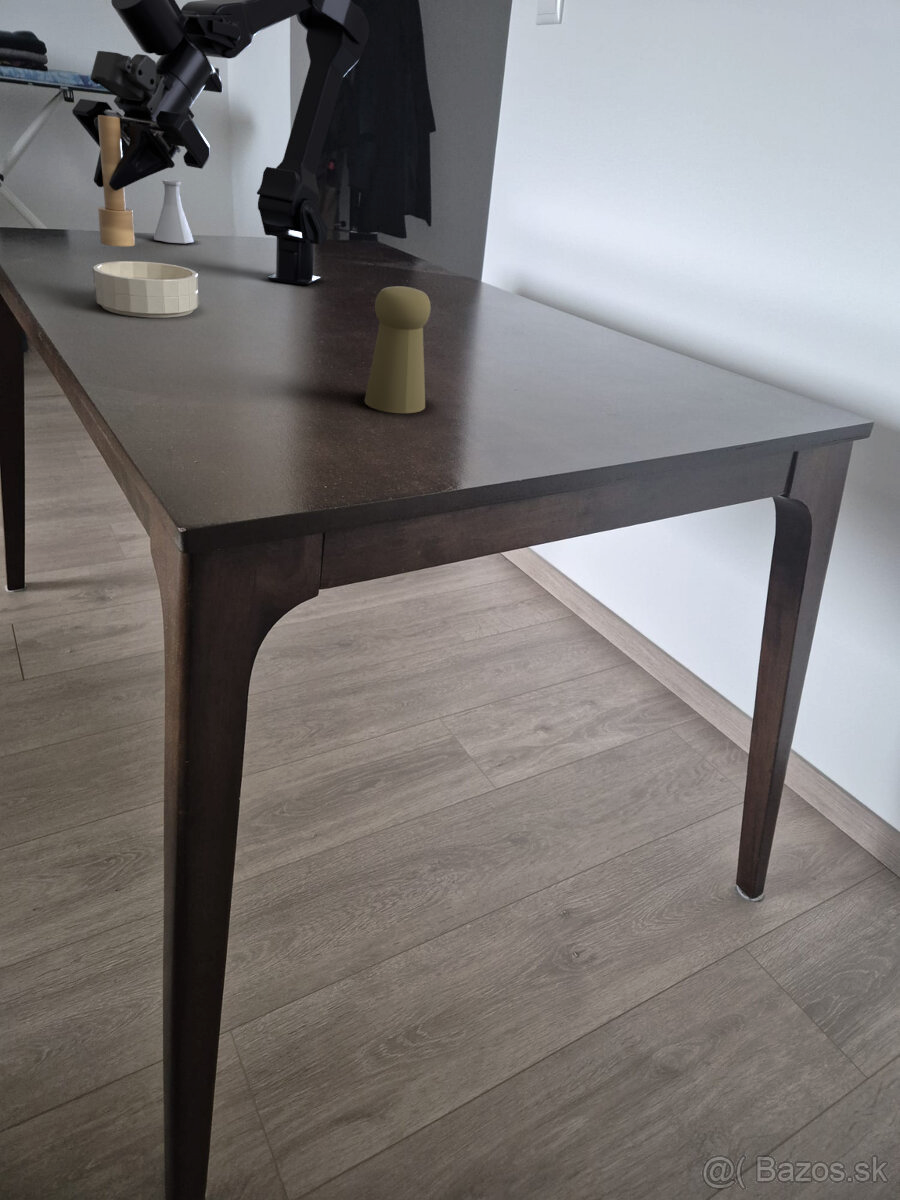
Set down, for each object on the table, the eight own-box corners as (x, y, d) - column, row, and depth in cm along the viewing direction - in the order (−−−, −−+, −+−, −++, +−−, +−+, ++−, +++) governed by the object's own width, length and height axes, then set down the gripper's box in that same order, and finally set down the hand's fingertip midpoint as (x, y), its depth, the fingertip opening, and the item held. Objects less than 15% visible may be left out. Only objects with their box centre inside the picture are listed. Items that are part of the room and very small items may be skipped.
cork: (364, 392, 88) (371, 279, 83) (423, 397, 89) (434, 285, 84) (364, 410, 83) (372, 290, 78) (427, 415, 84) (439, 297, 78)
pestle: (93, 241, 108) (82, 113, 101) (120, 240, 111) (111, 115, 104) (115, 247, 106) (105, 117, 99) (141, 245, 109) (134, 119, 102)
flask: (188, 246, 155) (186, 184, 150) (147, 241, 154) (144, 179, 149) (199, 241, 161) (197, 181, 156) (160, 236, 161) (157, 176, 156)
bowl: (127, 293, 116) (125, 257, 114) (214, 306, 115) (213, 271, 113) (76, 308, 105) (73, 269, 103) (171, 323, 104) (169, 284, 102)
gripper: (78, 21, 104) (5, 120, 101) (188, 32, 96) (113, 139, 93) (135, 102, 114) (71, 194, 111) (240, 117, 106) (173, 217, 103)
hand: (104, 185), depth 104 cm, fingers closed on pestle, 2 cm apart
